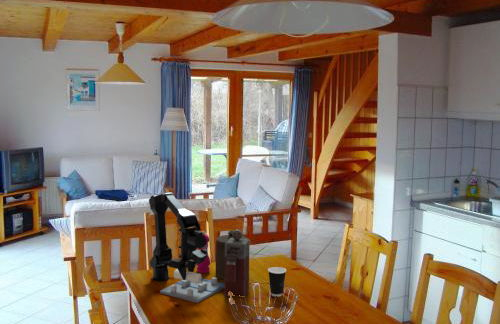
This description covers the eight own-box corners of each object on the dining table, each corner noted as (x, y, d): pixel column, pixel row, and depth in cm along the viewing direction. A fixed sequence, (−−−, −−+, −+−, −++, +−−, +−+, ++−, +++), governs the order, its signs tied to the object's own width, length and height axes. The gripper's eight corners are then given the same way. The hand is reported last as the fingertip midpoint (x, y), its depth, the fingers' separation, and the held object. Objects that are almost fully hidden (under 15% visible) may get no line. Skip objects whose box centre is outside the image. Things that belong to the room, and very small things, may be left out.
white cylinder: (173, 279, 217) (173, 270, 217) (179, 276, 220) (179, 267, 220) (195, 284, 211) (195, 275, 210) (201, 281, 214) (201, 272, 214)
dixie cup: (267, 291, 221) (267, 266, 220) (285, 291, 221) (285, 267, 219) (267, 297, 213) (268, 272, 212) (286, 298, 213) (286, 273, 212)
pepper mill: (208, 273, 242) (208, 233, 240) (193, 272, 244) (193, 232, 241) (212, 269, 249) (212, 229, 247) (198, 268, 251) (198, 229, 248)
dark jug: (222, 297, 212) (223, 233, 209) (229, 288, 223) (229, 226, 220) (243, 299, 210) (244, 234, 207) (248, 290, 221) (249, 228, 218)
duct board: (160, 293, 216) (160, 284, 216) (191, 278, 235) (191, 271, 235) (197, 302, 206) (197, 294, 206) (227, 286, 225) (227, 278, 225)
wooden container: (252, 274, 243) (252, 229, 240) (235, 283, 230) (235, 236, 228) (227, 268, 251) (227, 225, 248) (209, 276, 238) (209, 231, 236)
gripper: (189, 251, 202) (189, 288, 203) (215, 241, 218) (215, 276, 219) (167, 247, 207) (167, 283, 209) (195, 237, 223) (194, 271, 225)
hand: (187, 278), depth 216 cm, fingers closed on white cylinder, 4 cm apart
